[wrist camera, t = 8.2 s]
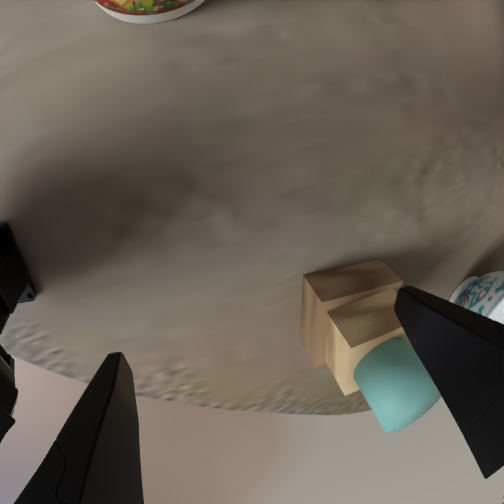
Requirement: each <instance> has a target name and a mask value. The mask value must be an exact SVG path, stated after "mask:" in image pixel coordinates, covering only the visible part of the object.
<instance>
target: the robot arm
mask: <svg viewBox="0 0 504 504" xmlns="http://www.w3.org/2000/svg"><path fill="white" fill-rule="evenodd" d="M2 228H3V229H4V230H5V232H3V231H2ZM29 293H31V294H32V295H30V294H29ZM36 296H37V292H36V290H35V288H34V286H33V284H32V281H31V279H30V276H29V273H28V271H27V269H26V266H25V264H24V262H23V259H22V257H21V255H20V252H19V250H18V249H17V246H16V244H15V241H14V239H13V236H12V233H11V230H10V228H9V226H8V225H7V224H6V223H0V334H1V333H2V331H3V329H4V327H5V324H6V322H7V320H8V318H9V316H10V314H12V313H13V312H14V310H15V308H16V306H17V304H18V303H24V302H29V301H34V300H35V298H36ZM394 312H395V314H396V316H397V318H398V320H399V322H400V324H401V326H402V328H403V330H404V332H405V334H406V336H407V338H408V340H409V342H410V344H411V346H412V348H413V349H414V351H415V353H416V354H417V356H418V357H419V359H420V361H421V362H422V364H423V366H424V367H425V369H426V370H427V372H428V374H429V375H430V377H431V379H432V381H433V382H434V384H435V386H436V387H437V389H438V391H439V392H440V394H441V396H442V398H443V399H444V401H445V403H446V405H447V406H448V408H449V410H450V412H451V414H452V415H453V417H454V419H455V421H456V423H457V425H458V426H459V428H460V430H461V432H462V434H463V435H464V438H465V440H466V442H467V444H468V446H469V448H470V450H471V452H472V453H473V456H474V458H475V460H476V462H477V464H478V466H479V468H480V470H481V472H482V474H483V476H484V478H485V479H487V478H488V477H490V476H491V475H492V474H494V473H495V472H496V471H497V470H499V469H500V468H501V467H503V466H504V324H502V323H500V322H498V321H495V320H492V319H490V318H488V317H486V316H483V315H481V314H479V313H476V312H474V311H471V310H469V309H467V308H464V307H462V306H459V305H457V304H455V303H452V302H450V301H447V300H445V299H442V298H440V297H437V296H435V295H433V294H430V293H428V292H425V291H423V290H420V289H418V288H415V287H413V286H410V285H407V286H404V287H401V288H399V290H398V292H397V296H396V300H395V304H394ZM17 397H18V389H17V388H16V387H15V378H14V359H13V358H12V357H11V355H10V354H7V352H6V351H5V350H4V349H3V347H2V346H1V345H0V443H1V441H2V439H3V438H4V436H5V434H6V433H7V432H8V430H9V429H10V428H11V427H12V426H13V425H14V423H15V419H14V418H13V417H12V415H13V412H14V407H15V405H16V402H17ZM140 464H141V463H140V446H139V422H138V413H137V406H136V399H135V390H134V381H133V374H132V370H131V368H130V366H129V364H128V362H127V360H126V358H125V356H124V355H123V353H122V352H115V353H110V354H108V355H107V357H106V358H105V360H104V361H103V363H102V364H101V366H100V368H99V369H98V371H97V372H96V374H95V375H94V377H93V379H92V380H91V382H90V383H89V385H88V387H87V388H86V390H85V391H84V393H83V395H82V396H81V398H80V400H79V401H78V403H77V404H76V406H75V408H74V409H73V411H72V413H71V414H70V416H69V418H68V419H67V421H66V423H65V424H64V426H63V428H62V429H61V431H60V433H59V434H58V436H57V438H56V440H55V441H54V443H53V445H52V446H51V448H50V450H49V452H48V453H47V455H46V457H45V458H44V460H43V462H42V463H41V465H40V466H39V468H38V469H37V471H36V472H35V474H34V475H33V477H32V478H31V479H30V481H29V482H28V484H27V485H26V487H25V488H24V490H23V491H22V493H21V494H20V495H19V497H18V498H17V500H16V501H15V502H14V504H144V499H143V489H142V477H141V465H140ZM503 504H504V503H503Z"/></svg>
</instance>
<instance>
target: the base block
mask: <svg viewBox="0 0 504 504" xmlns="http://www.w3.org/2000/svg"><path fill="white" fill-rule="evenodd" d="M402 284H403V280H402V279H401V278H400V277H399V276H398V275H397V274H396V273H395V272H394V271H392V270H391V269H390V268H389V267H388V266H387V265H386V264H385V263H384V262H383V261H382V260H381V259H376V260H372V261H367V262H363V263H358V264H353V265H349V266H344V267H340V268H335V269H330V270H326V271H321V272H316V273H311V274H307V275H303V291H302V311H301V329H300V341H301V343H302V345H303V347H304V349H305V351H306V353H307V355H308V357H309V359H310V361H311V363H312V364H313V366H314V368H316V367H320V366H323V365H326V364H327V363H326V312H327V311H330V310H333V309H336V308H339V307H342V306H345V305H348V304H351V303H353V302H356V301H359V300H362V299H365V298H367V297H370V296H373V295H376V294H378V293H381V292H384V291H386V290H389V289H392V288H393V289H394V291H395V292H396V293H397V292H398V290H399V288H401V287H402Z"/></svg>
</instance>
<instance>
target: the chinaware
mask: <svg viewBox="0 0 504 504" xmlns="http://www.w3.org/2000/svg"><path fill="white" fill-rule="evenodd" d="M449 301H450V302H452V303H455V304H457V305H459V306H462V307H464V308H467V309H469V310H471V311H474V312H476V313H479V314H481V315H483V316H486V317H488V318H490V319H492V320H495V321H498V322H500V323H502V324H504V271H496V272H491V273H488V274H485V275H483V276H481V277H479V278H478V277H477V276H472V277H469V278H468V279H466V280H465V281H464V282H463V283H461V284H460V286H459V287H458V288H457V289H456V290H455V292H454V293H453V295H452V296H451V298H450V300H449Z"/></svg>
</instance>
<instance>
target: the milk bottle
mask: <svg viewBox="0 0 504 504" xmlns="http://www.w3.org/2000/svg"><path fill="white" fill-rule="evenodd" d="M94 1H95V2H96V3H97V4H98V5H99V6H100V7H101V8H102V9H103V10H104V11H105V12H106V13H108V14H109V15H111V16H113V17H115V18H117V19H119V20H122V21H125V22H130V23H136V24H153V23H160V22H165V21H169V20H172V19H175V18H178V17H180V16H182V15H185V14H187V13H188V12H190V11H192V10H193V9H195V8H196V7H198V6H199V5H200V4H202V3H203V2H204V1H205V0H94Z"/></svg>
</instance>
